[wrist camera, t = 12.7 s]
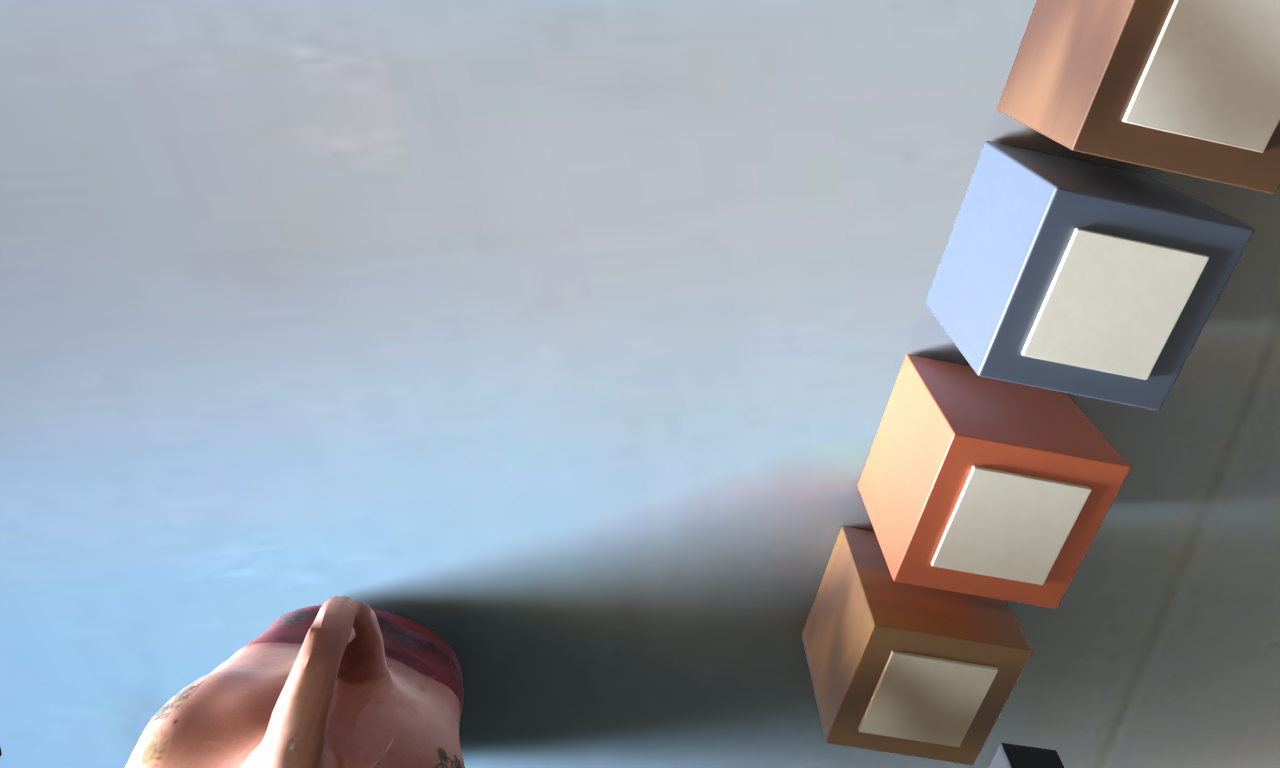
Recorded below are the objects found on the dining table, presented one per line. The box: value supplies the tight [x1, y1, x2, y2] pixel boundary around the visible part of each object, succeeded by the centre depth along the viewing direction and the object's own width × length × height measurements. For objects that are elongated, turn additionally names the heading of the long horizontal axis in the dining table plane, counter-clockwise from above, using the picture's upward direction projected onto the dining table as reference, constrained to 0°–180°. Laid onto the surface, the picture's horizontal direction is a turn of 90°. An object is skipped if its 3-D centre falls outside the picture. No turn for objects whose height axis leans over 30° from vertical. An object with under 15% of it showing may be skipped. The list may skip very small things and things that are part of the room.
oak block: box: [802, 526, 1033, 765], centre depth 36 cm, size 6×6×6 cm
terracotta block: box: [858, 354, 1131, 609], centre depth 33 cm, size 6×6×6 cm
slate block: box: [925, 141, 1254, 410], centre depth 29 cm, size 6×6×6 cm
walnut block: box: [997, 0, 1280, 194], centre depth 26 cm, size 6×6×6 cm
